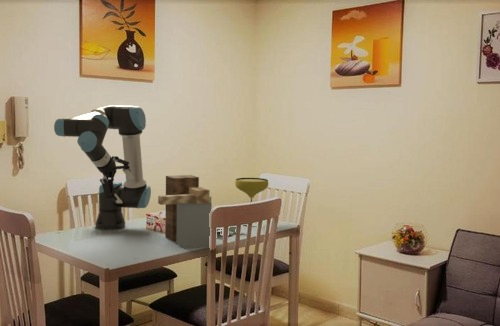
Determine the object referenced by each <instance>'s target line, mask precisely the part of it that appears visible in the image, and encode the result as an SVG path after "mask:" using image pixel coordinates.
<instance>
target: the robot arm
mask: <svg viewBox="0 0 500 326" xmlns="http://www.w3.org/2000/svg"><path fill="white" fill-rule="evenodd" d="M146 119H147V118H146V114H145V112H144V110H143V109H142V107H141V106H138V105H137V106H136V105H135V106H134V105H106V106H102V107H98V108H96V109H92V110H91V111H90V112H89V113H84V114H82V115H78V116H73V117H71V118H57V119H56V120H55V122H54V124H53V125H54V126H53V127H54V128H53V129H54V133H55V135H56V136H58V137H64V138H65V137H68V138H69V137H74V138H77V145H78V146H79V147H80V149H81V151H82V152H83V153H84V154H85V155H86V156H87V157H88V159H89V160H90V161H91V163H92V164H93V165H94V166H95V168H96V169H97V170H98V171H99V172H100V173H101V175H103V177H102V178H100V179H99V182H100V183H101V184H100V185H99V186H98V187H99V188H98V215H97V218H96V220H95V228H96V229H99V230H118V229H123V228H125V227H126V221H125V218H124V214H123V209H124V208H125V209H126V208H127V209H129V208H130V209H146V208H147V207H148V205H149V203H150V200H151V196H152V195H151V194H152V190H151V186H149V185H147V180H145V179H144V172H143V163H142V150H141V149H142V148H141V137H140V136H141V135H142V134H143V131H144V130H145V129H146V125H147V120H146ZM108 129H109V130H118V134H119V135H120V136H121V137H122V140H121V141H122V147H123V148H122V149H123V150H122V152H123V158H124V159H123V158H122V159H121V158H120V157H119V156H113V155H112V156H111V155H110V154H109V151H108V150H106V148H105V147H104V145H103V144H104V143H103V142H104V141H105V140H104V139H105V137H106V134H107V131H108ZM116 163H119V164H122V165H116ZM117 170H122V172H123V173H124V174H125V181H124V182H123V183H122V182H121V181H115V179H114V178H115V176H116V173H117ZM114 181H115V182H114Z"/></svg>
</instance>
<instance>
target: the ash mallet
mask: <svg viewBox="0 0 500 326" xmlns="http://www.w3.org/2000/svg"><path fill="white" fill-rule="evenodd" d="M209 196H210V189H208V188H204V187H202V186H200V187H193V188H189V194H182V195H166V194H165V195H158V196H157V203H158V204H159V205H161V206H163V205H165V206H166V204H181V203H196V204H202V203H209Z"/></svg>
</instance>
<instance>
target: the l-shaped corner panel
mask: <svg viewBox="0 0 500 326" xmlns="http://www.w3.org/2000/svg"><path fill="white" fill-rule="evenodd" d="M235 229H236V227H230V228H229V235H231V234H232V235H233V233H232V232H235ZM218 230H220V229H217V231H218ZM221 230H222V229H221ZM220 233H221V234H222V231H221V232H220Z"/></svg>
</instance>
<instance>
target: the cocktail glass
mask: <svg viewBox="0 0 500 326" xmlns="http://www.w3.org/2000/svg"><path fill="white" fill-rule="evenodd" d="M234 182H235V183H234V184H235V187H236V188H237V189H238V190H240V191H241V192H243V193H244V194H246V195H247V196H248V197H249V198H250V203H251V202H252V203H253V198H255V196H256V195H257V194H260V193H261V192H263V191H265V190H266V189H267V188H268V187H269V180H268V179H267V178H259V177H239V178H236V179H235V181H234Z"/></svg>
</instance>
